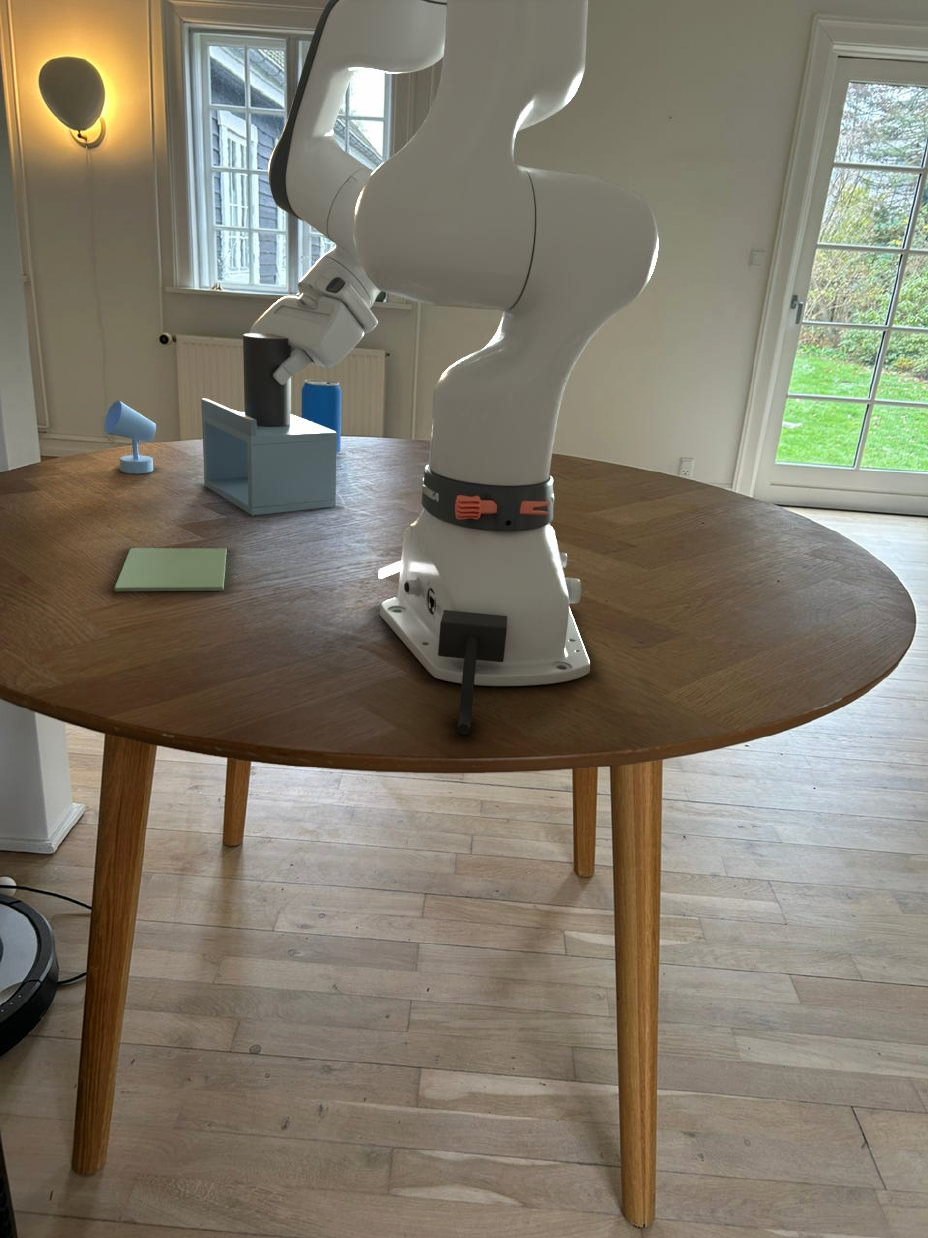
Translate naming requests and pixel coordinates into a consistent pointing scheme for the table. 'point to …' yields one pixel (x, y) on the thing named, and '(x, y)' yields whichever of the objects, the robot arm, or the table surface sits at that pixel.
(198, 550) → the mat
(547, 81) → the robot arm
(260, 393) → the dark grey cylinder
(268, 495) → the shelf
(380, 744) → the table surface
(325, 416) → the beverage can
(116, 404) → the spotlight
